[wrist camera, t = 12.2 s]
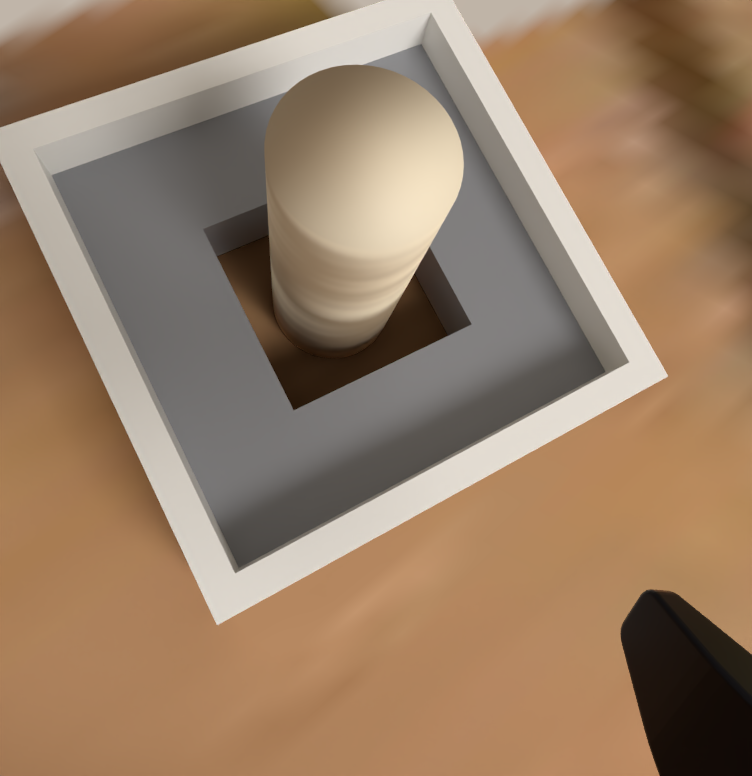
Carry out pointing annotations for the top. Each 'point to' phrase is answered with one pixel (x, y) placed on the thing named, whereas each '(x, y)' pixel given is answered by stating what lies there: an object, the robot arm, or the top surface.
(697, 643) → the robot arm
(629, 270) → the top surface
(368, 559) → the top surface
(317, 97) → the peg
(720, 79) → the top surface
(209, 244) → the bore box
